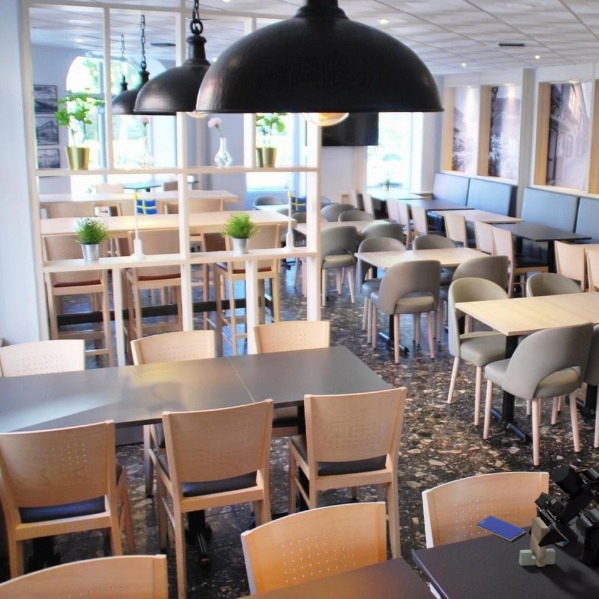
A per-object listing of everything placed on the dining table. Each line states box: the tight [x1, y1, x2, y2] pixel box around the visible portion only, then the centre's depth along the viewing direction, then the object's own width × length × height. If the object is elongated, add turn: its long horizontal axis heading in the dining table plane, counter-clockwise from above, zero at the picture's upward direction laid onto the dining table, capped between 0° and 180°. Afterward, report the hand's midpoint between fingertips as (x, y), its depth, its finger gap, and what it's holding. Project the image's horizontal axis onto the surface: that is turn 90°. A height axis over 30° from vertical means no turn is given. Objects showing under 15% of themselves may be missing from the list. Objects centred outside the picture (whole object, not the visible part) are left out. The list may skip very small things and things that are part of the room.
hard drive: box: [476, 515, 526, 542], centre depth 249 cm, size 2×8×12 cm
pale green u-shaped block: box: [518, 548, 556, 566], centre depth 229 cm, size 10×2×4 cm, turn 96°
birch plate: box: [529, 516, 549, 568], centre depth 228 cm, size 2×6×12 cm, turn 6°
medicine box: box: [550, 516, 578, 547], centre depth 242 cm, size 8×4×9 cm, turn 132°
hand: (534, 540), depth 228 cm, fingers closed on birch plate, 6 cm apart
